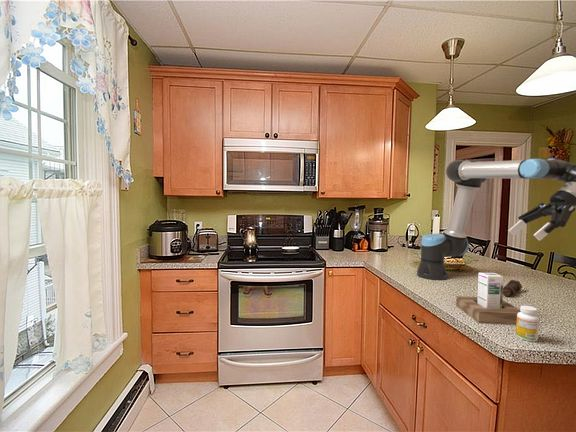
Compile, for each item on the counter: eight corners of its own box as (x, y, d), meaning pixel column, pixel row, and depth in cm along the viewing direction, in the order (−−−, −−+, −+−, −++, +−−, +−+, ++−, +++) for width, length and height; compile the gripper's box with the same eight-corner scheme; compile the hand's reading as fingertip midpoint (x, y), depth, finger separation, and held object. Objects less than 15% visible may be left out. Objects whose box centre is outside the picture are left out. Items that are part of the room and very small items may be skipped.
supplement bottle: (522, 332, 95) (523, 303, 94) (541, 340, 90) (543, 309, 89) (511, 335, 93) (513, 305, 92) (531, 343, 88) (533, 312, 87)
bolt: (503, 300, 130) (512, 292, 140) (515, 298, 126) (524, 289, 136) (496, 288, 132) (505, 281, 141) (508, 285, 128) (517, 278, 138)
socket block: (456, 305, 118) (456, 296, 118) (497, 307, 117) (498, 297, 116) (478, 322, 102) (479, 311, 102) (526, 324, 101) (527, 313, 100)
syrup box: (486, 314, 107) (488, 275, 106) (476, 308, 113) (478, 271, 112) (502, 315, 106) (504, 276, 106) (491, 308, 112) (493, 272, 111)
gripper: (535, 190, 121) (495, 225, 124) (593, 188, 97) (541, 232, 99) (548, 203, 121) (508, 237, 124) (609, 204, 96) (557, 248, 99)
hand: (522, 235), depth 111 cm, fingers open, 13 cm apart
